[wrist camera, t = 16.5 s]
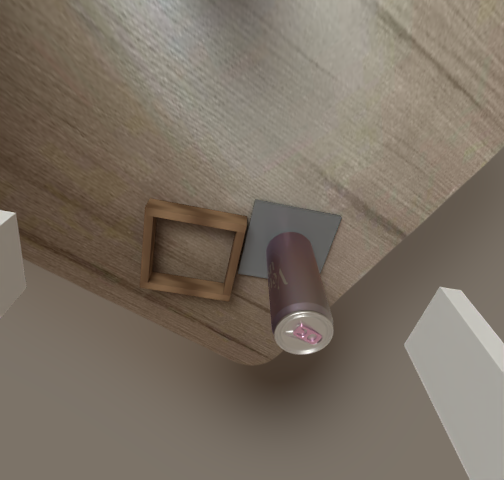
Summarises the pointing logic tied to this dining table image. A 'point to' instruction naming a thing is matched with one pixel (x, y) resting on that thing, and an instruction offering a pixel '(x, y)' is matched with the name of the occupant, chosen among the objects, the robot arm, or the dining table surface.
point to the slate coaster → (279, 221)
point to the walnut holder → (195, 217)
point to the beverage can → (297, 295)
